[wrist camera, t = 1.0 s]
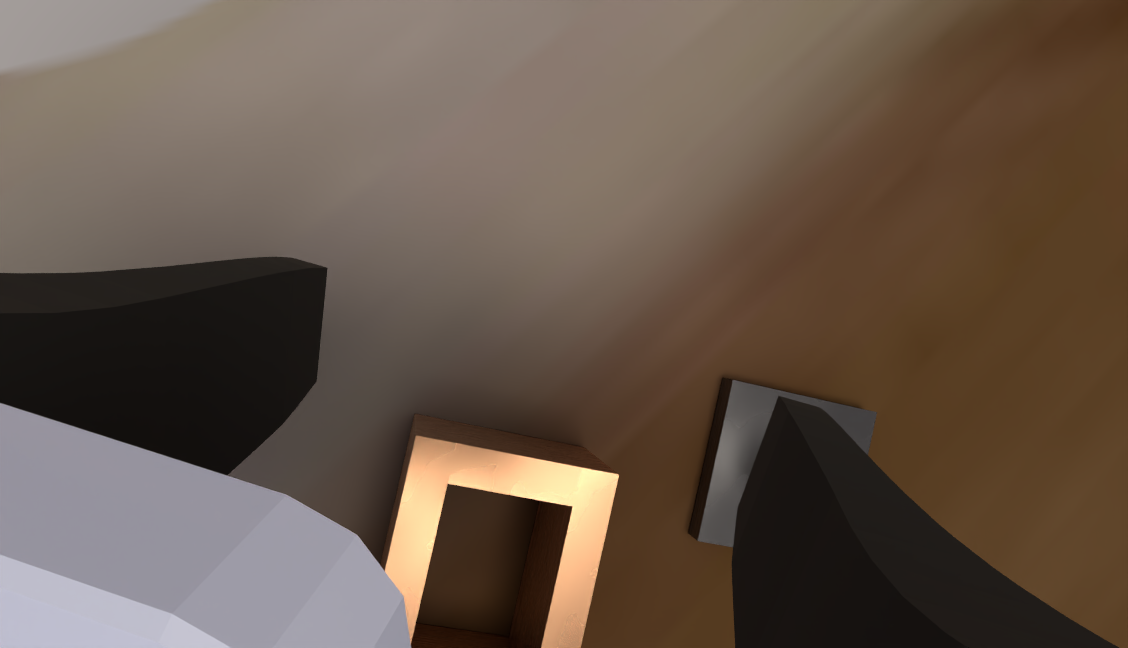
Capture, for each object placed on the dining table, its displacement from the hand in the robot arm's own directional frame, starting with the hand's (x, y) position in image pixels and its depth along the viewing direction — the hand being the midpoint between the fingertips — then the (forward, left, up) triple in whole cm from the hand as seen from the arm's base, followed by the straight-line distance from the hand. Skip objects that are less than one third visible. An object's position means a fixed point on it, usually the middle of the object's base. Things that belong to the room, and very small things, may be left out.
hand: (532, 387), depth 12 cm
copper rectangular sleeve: (-6, -1, -11) cm, 13 cm away
